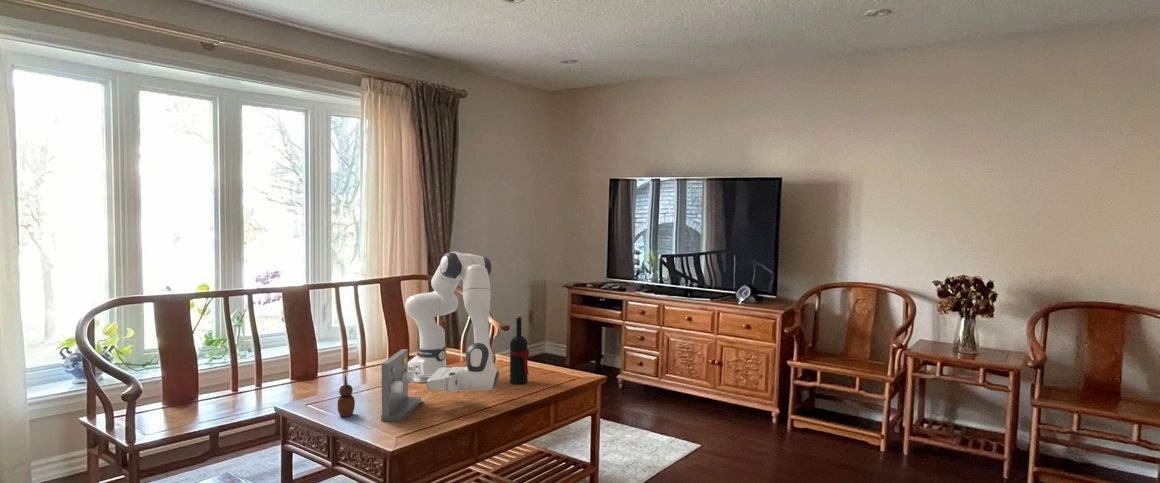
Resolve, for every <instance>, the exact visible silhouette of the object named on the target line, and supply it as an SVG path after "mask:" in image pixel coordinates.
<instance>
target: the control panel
mask: <svg viewBox="0 0 1160 483" xmlns="http://www.w3.org/2000/svg"><path fill="white" fill-rule="evenodd" d="M408 352H409V349H407V348H406V349H405V348H401V349H400V350H398V351H397V352H396V353H395V354H393V355H391V356H390V357H389V358H388V359H386V360H384V361H383V362H382V363H381V416H380V420H381V422H404V421H405V420H406V419H407V418H408V417H409V416H410V414H411V413H412V412H413V411H414V410H415V409H416V408H417V407H418V406H419V404H421V403H422V396H409V383H403V391H402V393H401V394H392V393H391V384H392V382H393V381H402V377H403V373H404V372H408V362H409V361H408V360H409V354H408ZM402 382H403V381H402Z"/></svg>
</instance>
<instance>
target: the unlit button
mask: <svg viewBox="0 0 1160 483" xmlns="http://www.w3.org/2000/svg"><path fill="white" fill-rule="evenodd" d="M402 391H403V382H402V381H393V382H392V384H391V393H392V394H401V393H402Z"/></svg>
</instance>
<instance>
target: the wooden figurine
mask: <svg viewBox="0 0 1160 483" xmlns="http://www.w3.org/2000/svg"><path fill="white" fill-rule="evenodd" d="M338 390H339V391H338V392H339V395H340V396H339V397H338V400H337V412H338V414H339V416H340V417H342V418H343V417H344V418H346V417H351V416H352V415H353V414H354V410H355V407H356V406H355V405H356V402H355V397H354V396H353V395H352V394H353V390H354V389H353V387H352V385H351V384H348V381H347V376H346V374H344V384H343V385H340V387H339V389H338Z"/></svg>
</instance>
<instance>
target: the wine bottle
mask: <svg viewBox="0 0 1160 483" xmlns="http://www.w3.org/2000/svg"><path fill="white" fill-rule="evenodd" d="M522 316H523V315H522V314H516V326H515V327H516V329H515V330H516V334H515V336H514V337H512V338H511V341H510V342H509V347H510V348H509V349H510V350H509V359H510V360H509V383H510V384H511V385H516V386H518V385H519V386H521V385H525V384H528V376H529V375H530V373H529V370H528V369H529V367H528V358H529V357H530V350H529V348H528V340H527V338H525V337H524V336H522Z"/></svg>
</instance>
